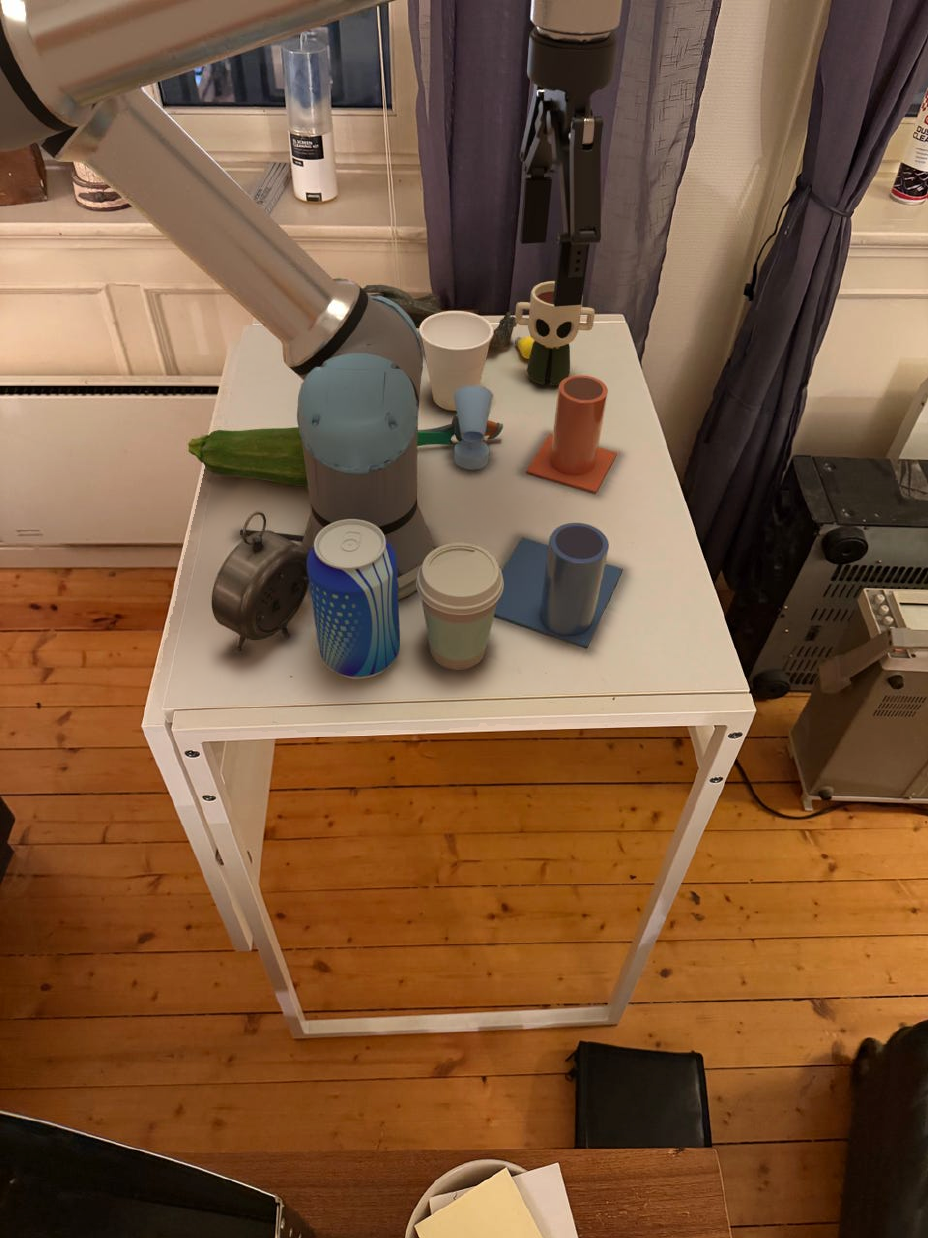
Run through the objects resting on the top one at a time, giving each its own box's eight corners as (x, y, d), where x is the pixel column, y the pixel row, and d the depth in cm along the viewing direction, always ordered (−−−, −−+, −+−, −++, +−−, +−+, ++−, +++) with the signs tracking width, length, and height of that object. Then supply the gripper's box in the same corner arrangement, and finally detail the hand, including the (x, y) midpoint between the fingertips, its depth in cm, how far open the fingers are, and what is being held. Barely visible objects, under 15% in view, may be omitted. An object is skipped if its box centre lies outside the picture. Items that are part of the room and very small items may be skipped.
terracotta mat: (525, 473, 113) (525, 470, 112) (549, 435, 118) (549, 433, 118) (595, 493, 110) (596, 491, 110) (616, 454, 116) (617, 452, 115)
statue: (530, 311, 128) (332, 254, 116) (520, 352, 129) (324, 300, 118) (503, 314, 137) (317, 261, 125) (495, 352, 138) (310, 304, 127)
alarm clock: (287, 589, 97) (267, 475, 85) (325, 608, 96) (310, 494, 84) (220, 651, 91) (188, 537, 79) (260, 673, 89) (233, 560, 77)
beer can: (416, 655, 92) (414, 544, 80) (355, 699, 87) (343, 588, 76) (365, 612, 95) (356, 500, 84) (304, 652, 91) (285, 540, 80)
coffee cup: (500, 623, 95) (507, 542, 86) (494, 684, 89) (501, 604, 80) (423, 615, 95) (422, 534, 86) (412, 676, 90) (410, 596, 81)
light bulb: (524, 353, 128) (539, 333, 127) (503, 342, 132) (518, 324, 132) (536, 367, 130) (551, 348, 130) (515, 356, 134) (530, 338, 134)
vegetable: (332, 481, 103) (170, 469, 105) (344, 496, 111) (192, 484, 112) (338, 422, 104) (177, 410, 106) (350, 440, 111) (199, 429, 113)
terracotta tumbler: (543, 467, 113) (551, 394, 105) (558, 442, 117) (568, 369, 108) (586, 480, 111) (599, 407, 103) (601, 454, 115) (614, 381, 107)
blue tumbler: (531, 625, 94) (540, 551, 86) (550, 589, 98) (561, 515, 90) (583, 643, 93) (598, 569, 85) (600, 606, 96) (616, 532, 88)
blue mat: (479, 611, 96) (479, 608, 96) (521, 539, 104) (522, 536, 104) (586, 648, 93) (587, 646, 93) (622, 571, 101) (623, 568, 101)
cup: (466, 428, 119) (468, 357, 111) (406, 405, 122) (404, 334, 114) (502, 394, 124) (507, 324, 116) (444, 373, 128) (445, 303, 120)
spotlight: (452, 440, 117) (452, 472, 112) (454, 375, 109) (453, 407, 105) (489, 441, 117) (490, 473, 112) (493, 376, 109) (494, 408, 105)
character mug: (508, 386, 125) (515, 302, 116) (512, 360, 130) (519, 277, 121) (584, 393, 125) (596, 309, 115) (585, 366, 130) (597, 283, 120)
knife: (499, 435, 118) (501, 403, 114) (503, 443, 117) (506, 412, 113) (354, 454, 114) (351, 423, 110) (357, 463, 113) (354, 432, 109)
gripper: (667, 74, 66) (621, 330, 81) (576, -11, 82) (552, 216, 98) (572, 77, 65) (544, 336, 80) (499, -10, 81) (487, 220, 97)
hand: (549, 271), depth 89 cm, fingers open, 13 cm apart
